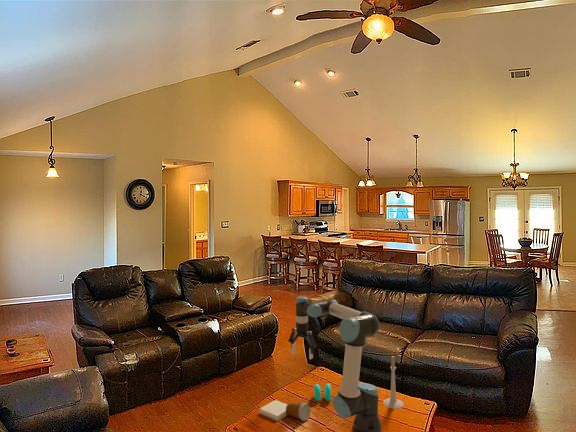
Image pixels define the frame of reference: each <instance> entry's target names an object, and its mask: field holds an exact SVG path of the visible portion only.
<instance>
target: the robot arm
mask: <svg viewBox="0 0 576 432" xmlns="http://www.w3.org/2000/svg"><path fill="white" fill-rule="evenodd" d="M324 314H329V315H330V316H331V315H332V316H334V317H337V318H339V319H341V320H342V321H341V322H340V325H339V327H338V332H339V334H340V335H339V337H340V338H341V340H342V341H343V344H344V345H345V348H344V359H343V369H342V379H341V386H339V387H338V391H337V394H336V395H334V396H333V398H332V405H333V409H334V411H335V413H336V414H337V415H338V416H339V417H340V418H342V419H347V418H351V417H353V416H355V417H354V419H353V428H354V430H355V431H356V432H381V431H382V430H383V429H382V426H383V425H382V422H381V417H380V416H379V415H380V414H379V389H378V387H376V386H375V385H374V384H371V383H366V382H360V383H359V381H360V372H361V363H362V362H361V361H362V353H363V352H362V351H363V347H365V346H366V342H367V338H371V337H373V336H375V335H376V334H377V333H378V331H379V330H380V321H379V319H378V317H377V316H376V315H374V314H373V313H371V312H368V311H360V310H356V309H354V308H351V307H348V306H345V305H342V304H339V302H337V300H335V299H327V300H322V301H316V302H310V301H309V298H308V296H305V295H304V296H297V297H296V298H295V327H293V328H292V331H291V333H290V336H289V338H288V341H287V342H288V343H290V347H291V355H296V350H297V349H296V347H297V345H296V343H297V342H296V341H297V339H298V338H299V337H300V338H302V339H304V340H305V341H306V343H307V344H308V347H309V349H308V352H309V354H308V355H309V357H308V358H309V360H312V359H314V353H315V348H317V344H316V341H315V338H314V335H313V331H312V330H308V329H309V317H312V318H318V317H320V315H324Z"/></svg>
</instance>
